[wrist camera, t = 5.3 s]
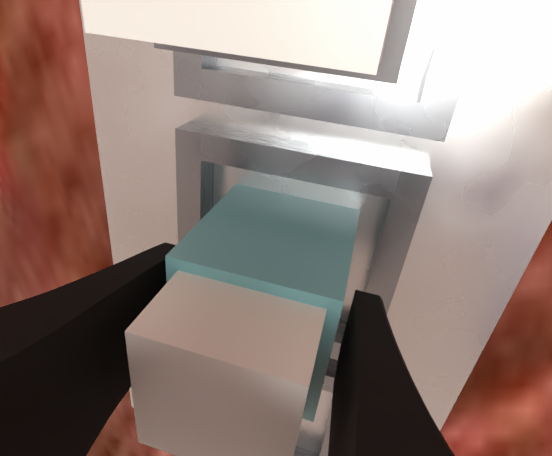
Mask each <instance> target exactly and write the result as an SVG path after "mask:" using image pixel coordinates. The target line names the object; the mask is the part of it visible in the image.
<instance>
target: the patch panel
mask: <svg viewBox="0 0 552 456" xmlns="http://www.w3.org/2000/svg"><path fill="white" fill-rule="evenodd" d="M79 2H80V10H81V18H82V26H83V33H84V41H85V49H86V57H87V64H88V72H89V80H90V87H91V95H92V103H93V111H94V118H95V126H96V134H97V142H98V149H99V157H100V165H101V173H102V180H103V188H104V196H105V203H106V211H107V219H108V227H109V234H110V242H111V250H112V258H113V265H114V264H116V263H119V262H121V261H123V260H125V259H128V258H130V257H132V256H134V255H136V254H139V253H141V252H143V251H145V250H148V249H150V248H152V247H155V246H157V245H160V244H162V243H165V242H166V243H170V244H174V245H177V244H178V243H179V242H180V241H181V240H182V238H183V237H184V236H185V235H186V234H187V233H188V232H189V231H190V230H191V229H192V228H193V227H194V226H195V225H196V224H197V223H198V222H199V221H200V220H201V219H202V218H203V217H204V216H205V215H206V214H207V213H208V212H209V211H210V210H211V209H212V208H213V207H214V206H215V205H216V204H217V203H218V202H219V201H220V200H221V199H222V198H223V197H224V196H225V195H226V194H227V193H228V192H229V191H230V190H231V189H232V187H233V186H234V185H235V184H240V185H245V186H250V187H254V188H259V189H264V190H269V191H273V192H278V193H283V194H287V195H292V196H297V197H302V198H306V199H311V200H316V201H321V202H325V203H330V204H335V205H340V206H344V207H349V208H354V209H359V210H360V214H359V220H358V225H357V231H356V237H355V242H354V248H353V254H352V259H351V265H350V271H349V276H348V282H347V288H346V294H345V299H344V304H343V308H342V312H341V316H340V320H339V324H338V328H337V332H336V336H335V340H334V343H333V347H332V351H331V355H330V359H329V363H328V367H327V371H326V375H325V379H324V383H323V387H322V391H321V395H320V399H319V403H318V407H317V411H316V415H315V419H314V422H312V421H309V420H305V419H302V421H301V426H300V430H299V434H298V439H297V443H296V447H295V452H294V456H328V448H329V435H330V422H331V409H332V396H333V384H334V378H335V372H336V367H337V362H338V356H339V351H340V346H341V342H342V338H343V335H344V331H345V327H346V323H347V320H348V316H349V312H350V308H351V305H352V301H353V297H354V293H355V290H359V291H363V292H367V293H371V294H375V295H379V296H380V297H381V298H382V300H383V303H384V307H385V310H386V314H387V317H388V320H389V323H390V326H391V329H392V332H393V334H394V337H395V340H396V342H397V345H398V347H399V350H400V352H401V354H402V357H403V359H404V361H405V364H406V366H407V368H408V371H409V373H410V375H411V377H412V379H413V381H414V383H415V385H416V387H417V389H418V391H419V393H420V395H421V397H422V399H423V401H424V403H425V405H426V407H427V409H428V411H429V413H430V415H431V416H432V418H433V420H434V422H435V424H436V425H437V427H438V429H439V431H440V430H441V428H442V426H443V424H444V422H445V421H446V419H447V417H448V415H449V413H450V411H451V409H452V407H453V405H454V404H455V402H456V400H457V398H458V396H459V394H460V392H461V390H462V388H463V387H464V385H465V383H466V381H467V379H468V377H469V375H470V373H471V371H472V369H473V368H474V366H475V364H476V362H477V360H478V358H479V356H480V354H481V352H482V351H483V349H484V347H485V345H486V343H487V341H488V339H489V337H490V335H491V334H492V332H493V330H494V328H495V326H496V324H497V322H498V320H499V318H500V317H501V315H502V313H503V311H504V309H505V307H506V305H507V303H508V301H509V300H510V298H511V296H512V294H513V292H514V290H515V288H516V286H517V284H518V283H519V281H520V279H521V277H522V275H523V273H524V271H525V269H526V267H527V266H528V264H529V262H530V260H531V258H532V256H533V254H534V252H535V250H536V248H537V247H538V245H539V243H540V241H541V239H542V237H543V235H544V233H545V231H546V230H547V228H548V226H549V224H550V222H551V220H552V0H418V1H417V5H416V9H415V13H414V17H413V21H412V25H411V29H410V33H409V37H408V41H407V45H406V49H405V53H404V57H403V61H402V65H401V69H400V73H399V77H398V81H397V84H392V83H386V82H379V81H372V80H365V79H359V78H352V77H345V76H339V75H332V74H325V73H318V72H312V71H305V70H298V69H292V68H285V67H278V66H272V65H265V64H258V63H251V62H245V61H238V60H231V59H225V58H218V57H211V56H205V55H198V54H191V53H184V52H178V51H171V50H164V49H158V48H154V43H153V42H146V41H139V40H132V39H125V38H118V37H112V36H105V35H98V34H91V33H85V29H84V21H83V13H82V5H81V0H79ZM130 397H131V404H132V407H133V408H134V404H133V396H132V388H131V387H130Z"/></svg>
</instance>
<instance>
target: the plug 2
mask: <svg viewBox="0 0 552 456" xmlns="http://www.w3.org/2000/svg"><path fill="white" fill-rule="evenodd" d="M359 214H360V210H359V209H354V208H349V207H344V206H340V205H335V204H330V203H325V202H321V201H316V200H311V199H306V198H302V197H297V196H292V195H287V194H283V193H278V192H273V191H269V190H264V189H259V188H254V187H250V186H245V185H240V184H235V185H234V186H233V187H232V189H231V190H230V191H229V192H228V193H227V194H226V195H225V196H224V197H223V198H222V199H221V200H220V201H219V202H218V203H217V204H216V205H215V206H214V207H213V208H212V209H211V210H210V211H209V212H208V213H207V214H206V215H205V216H204V217H203V218H202V219H201V220H200V221H199V222H198V223H197V224H196V225H195V226H194V227H193V228H192V229H191V230H190V231H189V232H188V233H187V234H186V235H185V236H184V237H183V238H182V240H181V241H180V242H179V243H178V244H177V245H176V246H175V247H174V248H173V249H172V250H171V251H170V252H169V253H168V254H167V255H166V256H165V261H166V284H165V286H164V287H163V288H162V289H161V290H160V291H159V292H158V294H157V295H156V296H155V297H154V298H153V299H152V301H151V302H150V303H149V304H148V305H147V306H146V307H145V309H144V310H143V311H142V312H141V313H140V314H139V315H138V317H137V318H136V319H135V320H134V321H133V322H132V323H131V325H130V326H129V327H128V328H127V329H126V330H125V340H126V348H127V356H128V364H129V372H130V380H131V388H132V396H133V404H134V412H135V420H136V428H137V436H138V442H139V443H142V444H145V445H147V446H150V447H153V448H156V449H159V450H161V451H164V452H167V453H170V454H173V455H176V456H294V452H295V447H296V443H297V439H298V434H299V430H300V426H301V421H302V419H305V420H309V421H312V422H314V419H315V415H316V411H317V407H318V403H319V399H320V395H321V391H322V387H323V383H324V379H325V375H326V371H327V367H328V363H329V359H330V355H331V351H332V347H333V343H334V340H335V336H336V332H337V328H338V324H339V320H340V316H341V312H342V308H343V304H344V299H345V294H346V288H347V282H348V276H349V271H350V265H351V259H352V254H353V248H354V242H355V237H356V231H357V225H358V220H359Z"/></svg>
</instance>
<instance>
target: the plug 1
mask: <svg viewBox="0 0 552 456" xmlns="http://www.w3.org/2000/svg"><path fill="white" fill-rule="evenodd" d="M417 1H418V0H81V5H82V13H83V21H84V29H85V33H91V34H98V35H105V36H112V37H118V38H125V39H132V40H139V41H146V42H153V43H154V48H158V49H164V50H171V51H178V52H184V53H191V54H198V55H205V56H211V57H218V58H225V59H231V60H238V61H245V62H251V63H258V64H265V65H272V66H278V67H285V68H292V69H298V70H305V71H312V72H318V73H325V74H332V75H339V76H345V77H352V78H359V79H365V80H372V81H379V82H386V83H392V84H397V81H398V77H399V73H400V69H401V65H402V61H403V57H404V53H405V49H406V45H407V41H408V37H409V33H410V29H411V25H412V21H413V17H414V13H415V9H416V5H417Z"/></svg>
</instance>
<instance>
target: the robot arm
mask: <svg viewBox="0 0 552 456" xmlns="http://www.w3.org/2000/svg"><path fill="white" fill-rule="evenodd" d="M175 246H176V245H174V244H170V243H166V242H165V243H162V244H160V245H157V246H155V247H152V248H150V249H148V250H145V251H143V252H141V253H139V254H136V255H134V256H132V257H130V258H128V259H125V260H123V261H121V262H119V263H116V264H114V265H112V266H110V267H107V268H105V269H103V270H101V271H98V272H96V273H94V274H91V275H89V276H86V277H84V278H81V279H79V280H76V281H74V282H71V283H69V284H66V285H64V286H61V287H59V288H56V289H54V290H51V291H48V292H46V293H43V294H40V295H37V296H34V297H31V298H28V299H25V300H22V301H19V302H16V303H13V304H10V305H6V306H3V307H0V456H86V455H87V453H88V451H89V450H90V448H91V446H92V445H93V443H94V442H95V440H96V438H97V437H98V435H99V433H100V432H101V430H102V428H103V427H104V425H105V423H106V422H107V420H108V418H109V417H110V415H111V414H112V413H113V411H114V410H115V408H116V407H117V405H118V404H119V402H120V401H121V400H122V398H123V397H124V395H125V394H126V393H127V391H128V390H129V389H130V387H131V380H130V372H129V364H128V356H127V348H126V340H125V330H126V329H127V328H128V327H129V326H130V325H131V323H132V322H133V321H134V320H135V319H136V318H137V317H138V315H139V314H140V313H141V312H142V311H143V310H144V309H145V307H146V306H147V305H148V304H149V303H150V302H151V301H152V299H153V298H154V297H155V296H156V295H157V294H158V292H159V291H160V290H161V289H162V288H163V287H164V286H165V284H166V261H165V256H166V255H167V254H168V253H169V252H170V251H171V250H172V249H173V248H174V247H175ZM328 456H455V455H454V454H453V452H452V451H451V449H450V447H449V446H448V444H447V442H446V441H445V439H444V437H443V436H442V434H441V432H440V431H439V429H438V427H437V425H436V424H435V422H434V420H433V418H432V416H431V415H430V413H429V411H428V409H427V407H426V405H425V403H424V401H423V399H422V397H421V395H420V393H419V391H418V389H417V387H416V385H415V383H414V381H413V379H412V377H411V375H410V373H409V371H408V368H407V366H406V364H405V361H404V359H403V357H402V354H401V352H400V350H399V347H398V345H397V342H396V340H395V337H394V334H393V332H392V329H391V326H390V323H389V320H388V317H387V314H386V310H385V307H384V303H383V300H382V298H381V297H380V296H379V295H375V294H371V293H367V292H363V291H359V290H355V293H354V297H353V301H352V305H351V308H350V312H349V316H348V320H347V323H346V327H345V331H344V335H343V338H342V342H341V346H340V351H339V356H338V362H337V367H336V372H335V378H334V384H333V396H332V409H331V422H330V435H329V448H328Z"/></svg>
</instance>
